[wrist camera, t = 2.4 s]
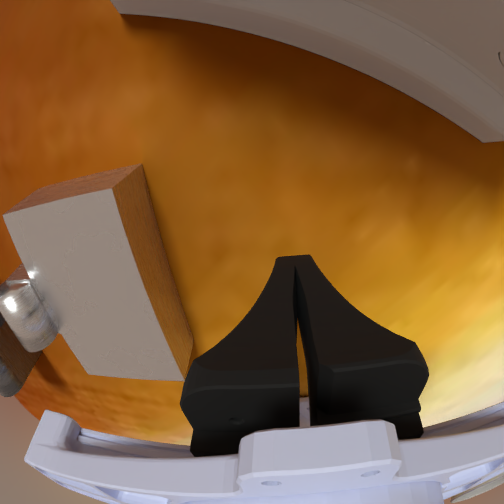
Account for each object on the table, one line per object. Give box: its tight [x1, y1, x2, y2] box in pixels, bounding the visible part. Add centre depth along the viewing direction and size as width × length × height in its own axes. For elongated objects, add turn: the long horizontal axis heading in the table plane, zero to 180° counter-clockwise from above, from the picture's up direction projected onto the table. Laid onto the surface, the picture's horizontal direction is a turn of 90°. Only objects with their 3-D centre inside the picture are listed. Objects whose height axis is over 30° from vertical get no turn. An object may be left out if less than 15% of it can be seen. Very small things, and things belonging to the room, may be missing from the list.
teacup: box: [451, 472, 504, 503], centre depth 25 cm, size 14×11×8 cm
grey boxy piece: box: [0, 164, 194, 381], centre depth 13 cm, size 10×9×5 cm
